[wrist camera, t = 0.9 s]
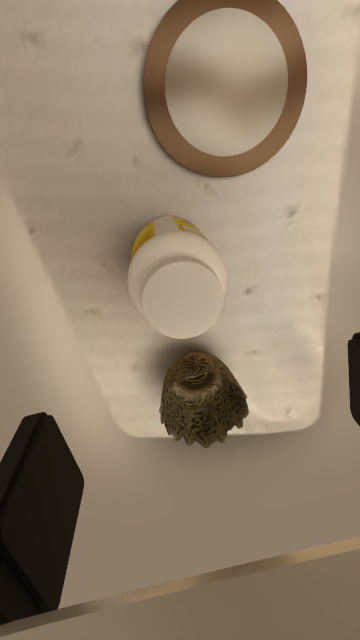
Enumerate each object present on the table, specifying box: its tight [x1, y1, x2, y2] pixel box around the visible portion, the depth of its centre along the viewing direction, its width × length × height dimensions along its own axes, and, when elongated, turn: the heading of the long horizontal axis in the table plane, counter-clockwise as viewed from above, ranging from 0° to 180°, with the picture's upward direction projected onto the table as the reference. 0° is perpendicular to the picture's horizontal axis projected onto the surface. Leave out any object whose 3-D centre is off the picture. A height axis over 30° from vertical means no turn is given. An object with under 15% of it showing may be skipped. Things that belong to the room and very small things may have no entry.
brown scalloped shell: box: [159, 352, 249, 448], centre depth 32 cm, size 8×7×8 cm
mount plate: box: [144, 0, 307, 177], centre depth 25 cm, size 12×12×2 cm
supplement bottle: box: [127, 216, 227, 339], centre depth 25 cm, size 7×7×13 cm
